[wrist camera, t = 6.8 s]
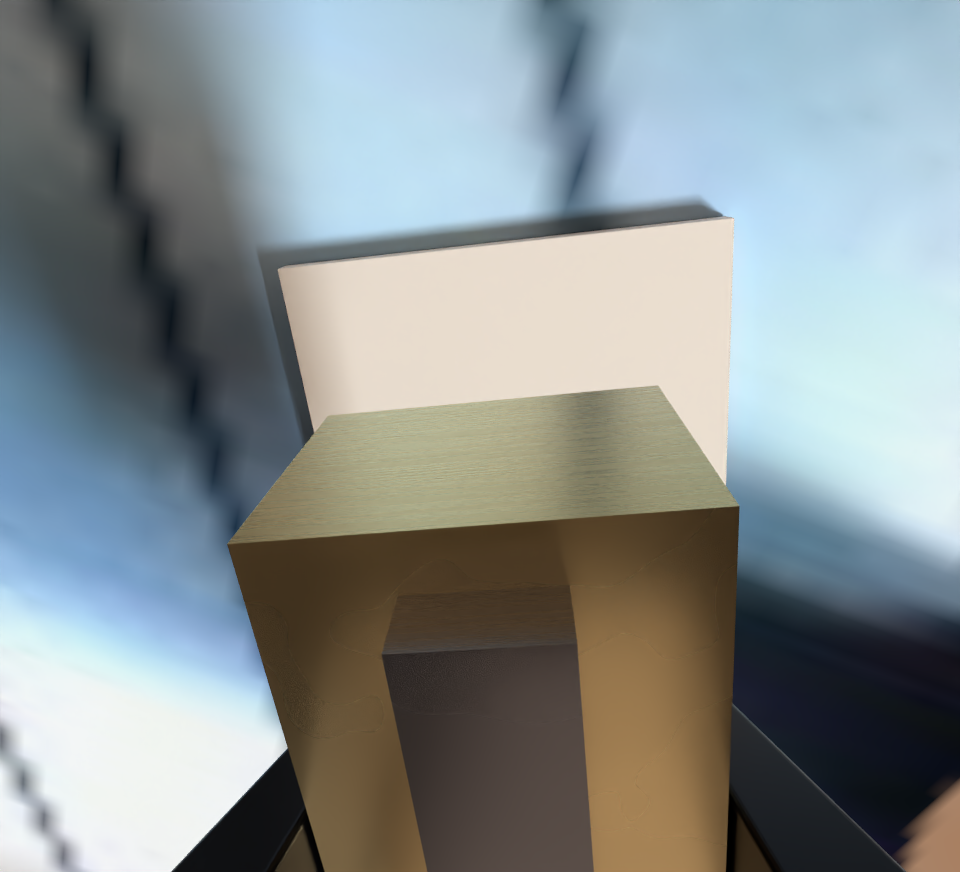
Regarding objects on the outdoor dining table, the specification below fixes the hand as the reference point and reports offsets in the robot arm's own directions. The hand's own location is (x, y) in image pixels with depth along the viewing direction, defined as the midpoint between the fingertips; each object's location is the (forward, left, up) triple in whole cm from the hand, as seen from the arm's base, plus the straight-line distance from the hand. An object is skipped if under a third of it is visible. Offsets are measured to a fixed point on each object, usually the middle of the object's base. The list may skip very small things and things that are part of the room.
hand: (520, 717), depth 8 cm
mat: (0, 0, -9) cm, 9 cm away
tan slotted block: (0, 0, -1) cm, 1 cm away
